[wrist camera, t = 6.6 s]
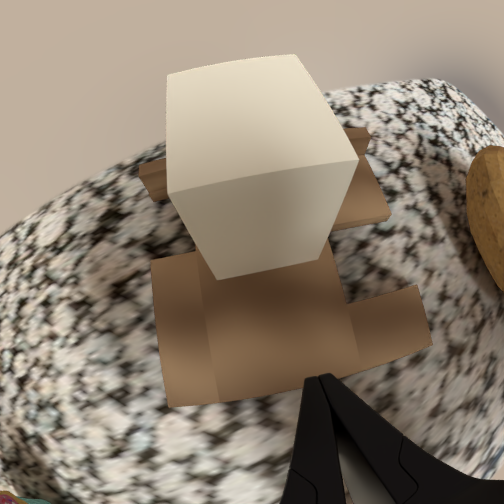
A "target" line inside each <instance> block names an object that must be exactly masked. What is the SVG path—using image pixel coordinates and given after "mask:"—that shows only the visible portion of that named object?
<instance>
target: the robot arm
mask: <svg viewBox="0 0 504 504" xmlns="http://www.w3.org/2000/svg"><path fill="white" fill-rule="evenodd" d="M342 475H343V478H344V480H345V483H346V485H347V488H348V491H349V493H350V496H351V499H352V501H353V504H504V480H486V479H478V478H474V477H471V476H468V475H466V474H464V473H462V472H460V471H458V470H456V469H455V468H453V467H451V466H449V465H447V464H446V463H444V462H442V461H440V460H439V459H437V458H435V457H434V456H432V455H430V454H429V453H427V452H426V451H424V450H423V449H421V448H420V447H419V446H417V445H416V444H415V443H413V442H412V441H411V440H410V439H408V438H407V437H406V436H403V434H402V433H401V432H400V431H398V430H397V429H396V428H395V427H394V426H392V425H391V424H390V423H389V422H388V421H386V420H385V419H384V418H383V417H382V416H380V415H379V414H378V413H377V412H376V411H375V410H373V409H372V408H371V407H370V406H369V405H367V404H366V403H365V402H364V401H363V400H362V399H360V398H359V397H358V396H357V395H356V394H355V393H353V392H352V391H351V390H350V389H349V388H348V387H347V386H345V385H344V384H343V383H342V382H341V381H340V380H339V379H337V378H336V377H335V376H334V375H333V374H332V373H325V374H320V375H318V377H317V376H311V377H307V378H305V379H304V385H303V392H302V399H301V405H300V411H299V418H298V423H297V429H296V435H295V441H294V446H293V451H292V456H291V461H290V466H289V471H288V475H287V480H286V484H285V488H284V491H283V495H282V498H281V500H280V503H279V504H346V499H345V492H344V485H343V479H342Z"/></svg>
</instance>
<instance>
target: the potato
mask: <svg viewBox="0 0 504 504" xmlns="http://www.w3.org/2000/svg"><path fill="white" fill-rule="evenodd" d="M466 199H467V218H468V222H469V226H470V231H471V234H472V236H473V238H474V241H475V243H476V245H477V248H478V250H479V252H480V254H481V256H482V258H483V260H484V262H485V264H486V266H487V268H488V270H489V272H490V273H491V275H492V277H493V279H494V280H495V282H496V284H497V286H498V287H499V288H500V289H501V290H502V291H503V293H504V147H501V146H492V145H489V146H488V147H486V148H484V149H482V150H480V151H479V152H478V154H477V155H476V157H475V158H474V160H473V161H472V163H471V166H470V169H469V172H468V175H467V178H466Z"/></svg>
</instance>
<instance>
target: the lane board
mask: <svg viewBox="0 0 504 504" xmlns="http://www.w3.org/2000/svg"><path fill="white" fill-rule="evenodd" d="M343 130H344V132H345V134H346V135H347V137H348V139H349V141H350V143H351V145H352V147H353V148H354V150H355V152H356V154H357V156H358V158H359V162H358V164H357V167H356V169H355V172H354V175H353V177H352V180H351V182H350V185H349V187H348V190H347V192H346V195H345V197H344V200H343V202H342V205H341V207H340V210H339V212H338V214H337V217H336V219H335V222H334V224H333V226H332V229H331V231H336V230H342V229H347V228H352V227H358V226H363V225H368V224H373V223H379V222H384V221H387V220H388V219H389V217H390V216H391V215H392V214H391V211H390V209H389V206H388V204H387V202H386V200H385V197H384V195H383V193H382V191H381V188H380V186H379V184H378V182H377V180H376V178H375V175H374V173H373V171H372V169H371V167H370V165H369V163H368V161H367V159H366V157H365V155H364V154H365V152H366V149H367V147H368V144H369V141H370V139H371V136H370V134H369V133H368V131H367V129H366V128H365V127H364V128H347V129H343ZM139 178H140V179H141V181H142V182H143V184H144V186H145V187H146V189H147V190H148V192H149V196H150V197H151V199H152V200H153V202H156V201H160V200H164V199H168V198H169V196H168V194H167V168H166V158H163V159H159V160H156V161H152V162H148V163H145V164H141V165H139ZM331 231H330V232H331ZM195 248H196V251H194V252H189V253H184V254H179V255H174V256H169V257H164V258H160V259H155V260H150V261H151V278H152V291H153V302H154V313H155V322H156V331H157V339H158V347H159V354H160V361H161V367H162V374H163V380H164V386H165V391H166V397H167V402H168V407H182V406H194V405H204V404H213V403H221V402H229V401H236V400H242V399H249V398H255V397H260V396H266V395H271V394H276V393H281V392H286V391H291V390H295V389H299V388H303V385H304V379H305V378H307V377H311V376H317V377H318V375H320V374H325V373H332V374H333V375H334V376H335V377H336V378H337V379H338V378H342V377H345V376H349V375H352V374H355V373H359V372H362V371H365V370H368V369H371V368H374V367H377V366H380V365H383V364H386V363H388V362H391V361H394V360H397V359H399V358H402V357H405V356H407V355H410V354H412V353H415V352H417V351H420V350H422V349H424V348H427V347H429V346H431V345H433V343H432V338H431V334H430V330H429V326H428V322H427V318H426V314H425V310H424V306H423V303H422V299H421V296H420V292H419V289H418V286H417V285H413V286H410V287H407V288H404V289H400V290H397V291H393V292H390V293H387V294H383V295H380V296H376V297H372V298H369V299H365V300H361V301H358V302H354V303H350V304H347V303H346V300H345V296H344V292H343V288H342V285H341V281H340V278H339V274H338V271H337V267H336V264H335V260H334V257H333V254H332V250H331V247H330V244H329V240H328V238H327V240H326V243H325V245H324V247H323V249H322V252H321V254H320V256H319V258H318V260H313V261H309V262H304V263H299V264H295V265H290V266H285V267H280V268H276V269H271V270H266V271H261V272H256V273H251V274H247V275H242V276H237V277H232V278H227V279H222V280H217V279H216V278H215V276H214V274H213V273H212V271H211V269H210V268H209V266H208V264H207V263H206V261H205V259H204V257H203V256H202V254H201V252H200V251H199V249H198V247H197V245H196V244H195Z"/></svg>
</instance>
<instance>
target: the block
mask: <svg viewBox="0 0 504 504" xmlns="http://www.w3.org/2000/svg"><path fill="white" fill-rule="evenodd" d="M166 100H167V101H166V168H167V194H168V196H169V198H170V199H171V201H172V203H173V205H174V207H175V209H176V210H177V212H178V214H179V216H180V217H181V219H182V221H183V223H184V225H185V226H186V228H187V230H188V232H189V233H190V235H191V237H192V239H193V240H194V242H195V244H196V245H197V247H198V249H199V251H200V252H201V254H202V256H203V257H204V259H205V261H206V263H207V264H208V266H209V268H210V269H211V271H212V273H213V274H214V276H215V278H216V279H217V280H222V279H227V278H232V277H237V276H242V275H247V274H251V273H256V272H261V271H266V270H271V269H276V268H280V267H285V266H290V265H295V264H299V263H304V262H309V261H313V260H318V258H319V256H320V254H321V252H322V249H323V247H324V245H325V243H326V240H327V238H328V236H329V233H330V231H331V229H332V226H333V224H334V222H335V219H336V217H337V214H338V212H339V210H340V207H341V205H342V202H343V200H344V197H345V195H346V192H347V190H348V187H349V185H350V182H351V180H352V177H353V175H354V172H355V169H356V167H357V164H358V162H359V158H358V156H357V154H356V152H355V150H354V148H353V147H352V145H351V143H350V141H349V139H348V137H347V135H346V134H345V132H344V130H343V128H342V126H341V125H340V123H339V121H338V119H337V118H336V116H335V114H334V113H333V111H332V109H331V108H330V106H329V104H328V103H327V101H326V99H325V98H324V96H323V95H322V93H321V91H320V90H319V89H318V87H317V85H316V84H315V82H314V81H313V79H312V78H311V76H310V75H309V73H308V72H307V70H306V69H305V67H304V66H303V64H302V63H301V62H300V60H299V59H298V57H297V56H296V55H295V54H292V55H278V56H268V57H258V58H251V59H243V60H236V61H230V62H224V63H219V64H213V65H208V66H203V67H198V68H194V69H189V70H185V71H181V72H177V73H173V74H169V75H167V99H166Z"/></svg>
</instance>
